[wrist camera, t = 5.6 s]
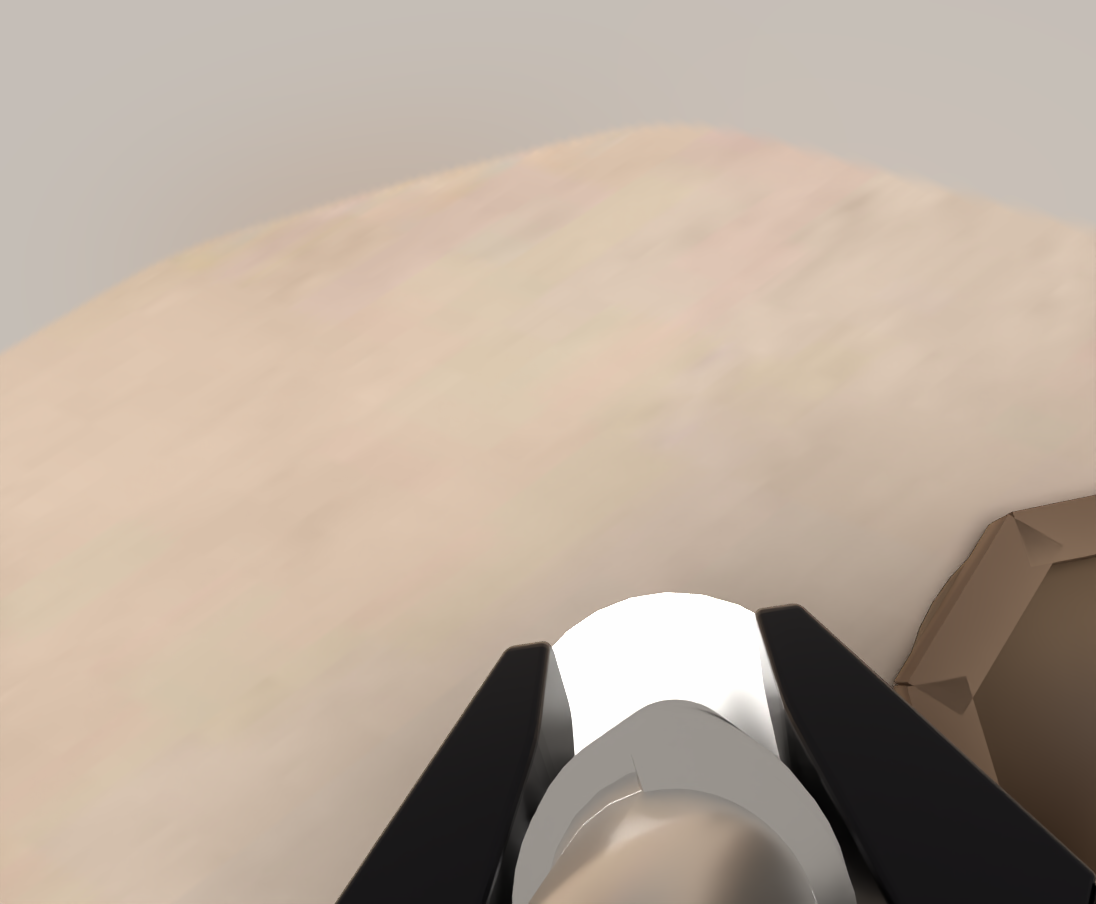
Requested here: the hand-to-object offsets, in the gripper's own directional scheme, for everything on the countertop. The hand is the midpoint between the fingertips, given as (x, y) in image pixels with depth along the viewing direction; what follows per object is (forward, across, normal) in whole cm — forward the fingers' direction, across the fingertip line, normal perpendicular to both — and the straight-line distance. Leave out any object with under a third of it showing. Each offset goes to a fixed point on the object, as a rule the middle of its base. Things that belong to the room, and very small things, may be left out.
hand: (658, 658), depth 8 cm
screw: (+4, 0, +6) cm, 7 cm away
